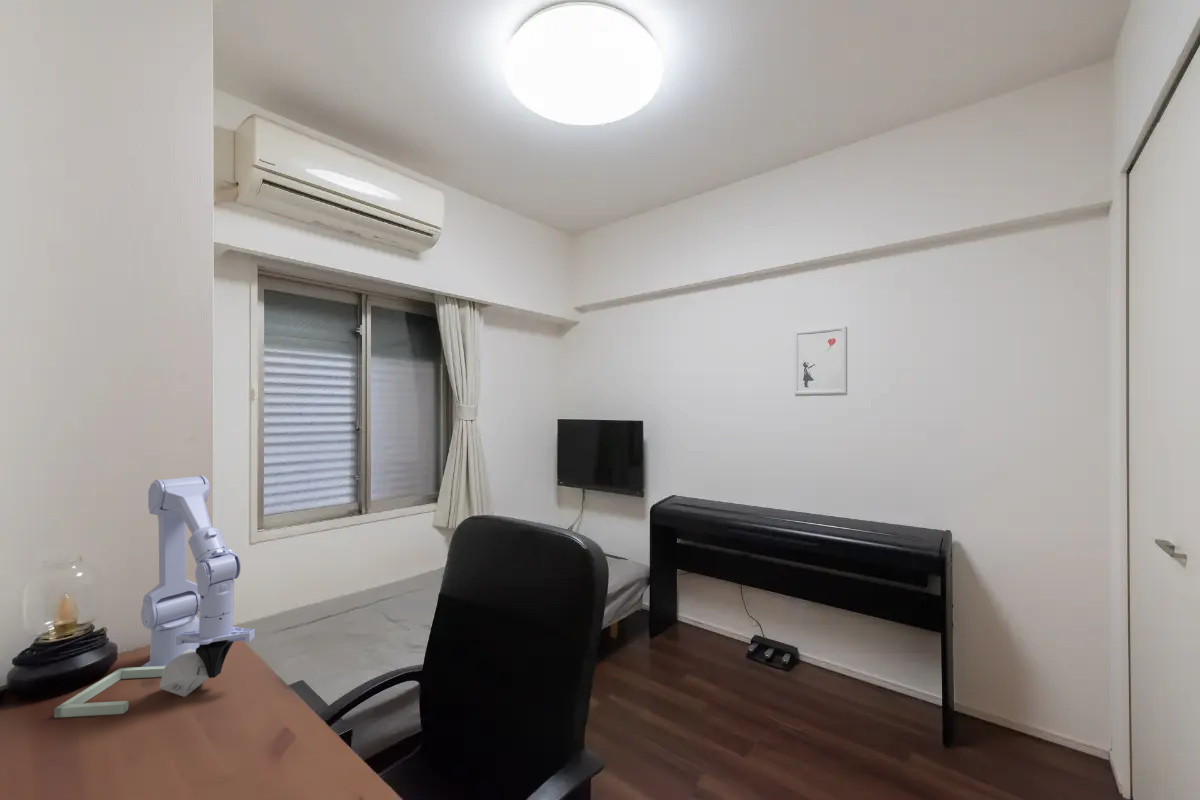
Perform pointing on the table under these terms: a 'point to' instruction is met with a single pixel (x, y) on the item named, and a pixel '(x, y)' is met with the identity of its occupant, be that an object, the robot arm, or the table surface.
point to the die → (184, 673)
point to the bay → (80, 708)
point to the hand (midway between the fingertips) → (214, 675)
